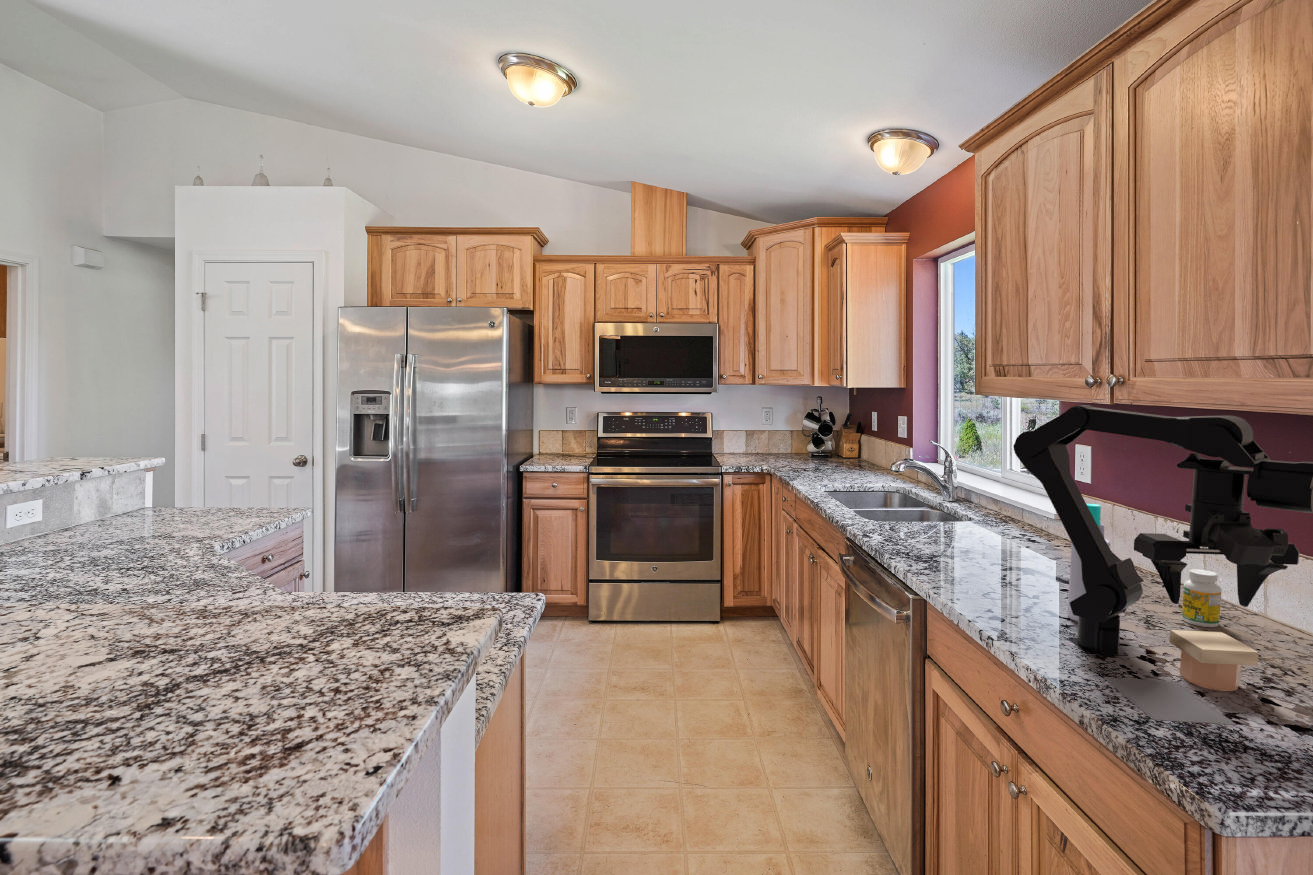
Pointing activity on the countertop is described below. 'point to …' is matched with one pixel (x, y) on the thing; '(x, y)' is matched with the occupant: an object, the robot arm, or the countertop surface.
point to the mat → (1168, 701)
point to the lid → (1213, 647)
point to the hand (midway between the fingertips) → (1208, 604)
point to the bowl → (1210, 674)
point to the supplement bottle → (1201, 599)
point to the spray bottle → (1075, 564)
